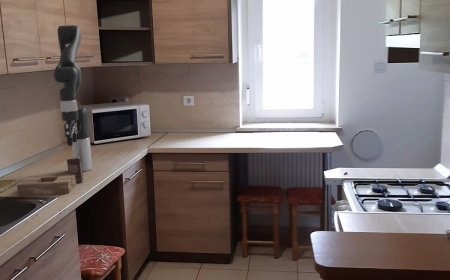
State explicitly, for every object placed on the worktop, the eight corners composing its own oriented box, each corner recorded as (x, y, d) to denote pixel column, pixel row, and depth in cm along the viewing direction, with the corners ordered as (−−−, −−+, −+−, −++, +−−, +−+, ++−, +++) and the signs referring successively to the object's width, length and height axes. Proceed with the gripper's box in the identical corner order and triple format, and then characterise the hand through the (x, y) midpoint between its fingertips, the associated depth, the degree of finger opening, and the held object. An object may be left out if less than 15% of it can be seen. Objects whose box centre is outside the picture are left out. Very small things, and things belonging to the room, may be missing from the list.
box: (83, 180, 236) (81, 156, 233) (81, 182, 231) (79, 158, 229) (71, 181, 235) (68, 157, 233) (69, 183, 231) (66, 159, 228)
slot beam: (28, 187, 227) (27, 177, 226) (76, 184, 228) (75, 174, 227) (18, 196, 213) (17, 185, 212) (68, 193, 214) (67, 182, 214)
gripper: (65, 108, 233) (68, 141, 236) (57, 112, 219) (60, 147, 222) (80, 108, 234) (83, 140, 237) (73, 111, 220) (77, 146, 223)
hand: (72, 143), depth 230 cm, fingers open, 8 cm apart
